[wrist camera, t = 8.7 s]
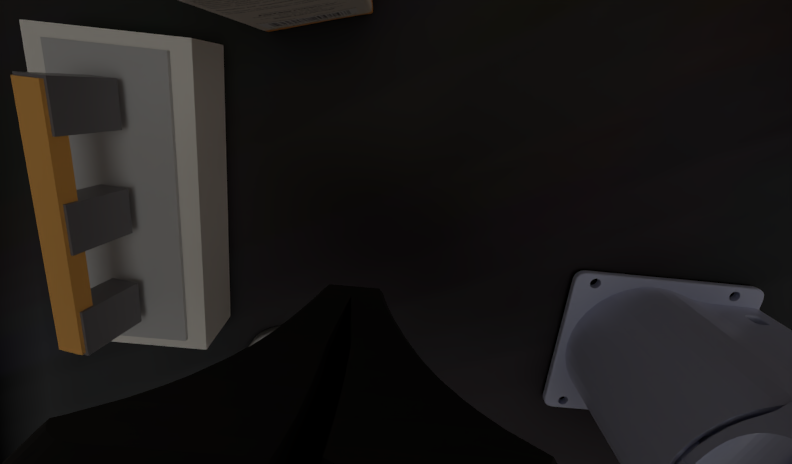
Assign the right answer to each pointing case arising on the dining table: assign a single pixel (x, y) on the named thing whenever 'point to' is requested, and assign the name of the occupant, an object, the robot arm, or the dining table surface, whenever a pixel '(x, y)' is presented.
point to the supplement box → (284, 11)
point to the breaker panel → (155, 171)
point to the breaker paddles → (75, 204)
